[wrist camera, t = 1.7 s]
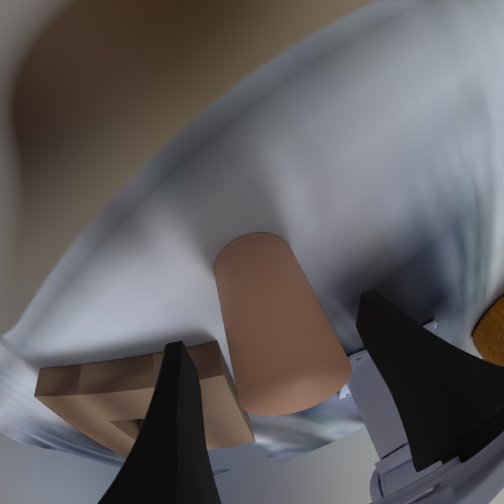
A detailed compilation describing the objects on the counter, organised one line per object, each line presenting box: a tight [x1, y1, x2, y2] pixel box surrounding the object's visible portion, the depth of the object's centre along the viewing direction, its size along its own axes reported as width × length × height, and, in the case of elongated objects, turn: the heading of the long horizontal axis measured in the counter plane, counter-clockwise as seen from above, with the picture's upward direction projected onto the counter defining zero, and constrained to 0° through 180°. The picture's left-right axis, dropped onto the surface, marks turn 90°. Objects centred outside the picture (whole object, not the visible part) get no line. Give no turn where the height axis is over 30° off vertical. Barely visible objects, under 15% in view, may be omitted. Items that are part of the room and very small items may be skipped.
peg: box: [214, 232, 352, 416], centre depth 12 cm, size 4×4×7 cm
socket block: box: [34, 341, 255, 457], centre depth 20 cm, size 14×14×2 cm
